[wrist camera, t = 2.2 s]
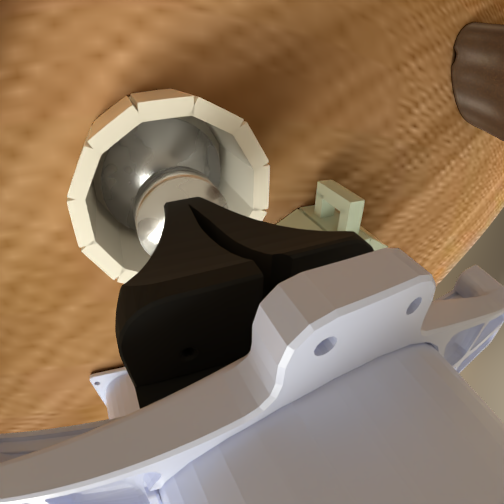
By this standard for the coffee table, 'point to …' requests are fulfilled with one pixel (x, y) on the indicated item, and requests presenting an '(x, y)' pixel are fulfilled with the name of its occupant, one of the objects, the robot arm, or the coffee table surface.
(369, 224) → the coffee table surface
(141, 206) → the silver knobbed plunger
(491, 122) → the plant pot
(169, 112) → the cream press carafe
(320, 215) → the sage press carafe
